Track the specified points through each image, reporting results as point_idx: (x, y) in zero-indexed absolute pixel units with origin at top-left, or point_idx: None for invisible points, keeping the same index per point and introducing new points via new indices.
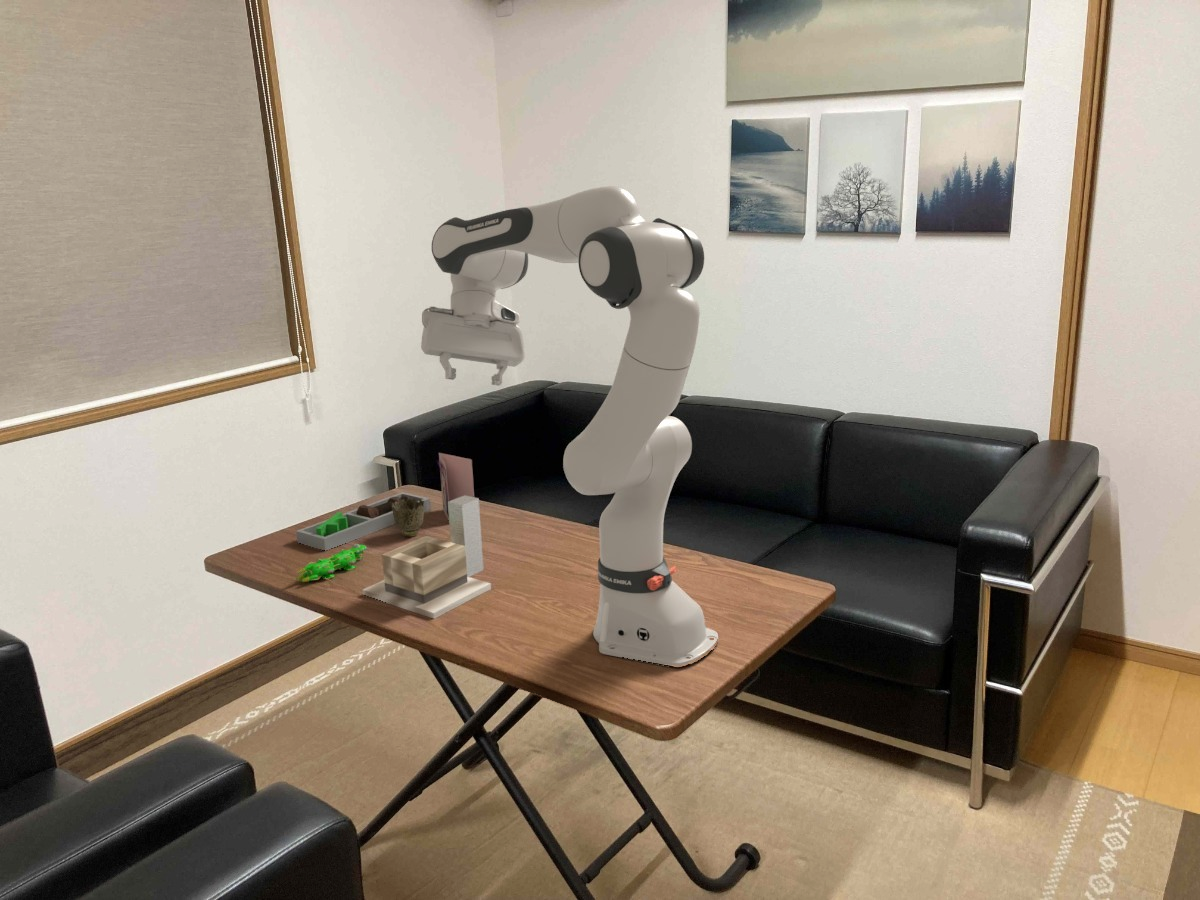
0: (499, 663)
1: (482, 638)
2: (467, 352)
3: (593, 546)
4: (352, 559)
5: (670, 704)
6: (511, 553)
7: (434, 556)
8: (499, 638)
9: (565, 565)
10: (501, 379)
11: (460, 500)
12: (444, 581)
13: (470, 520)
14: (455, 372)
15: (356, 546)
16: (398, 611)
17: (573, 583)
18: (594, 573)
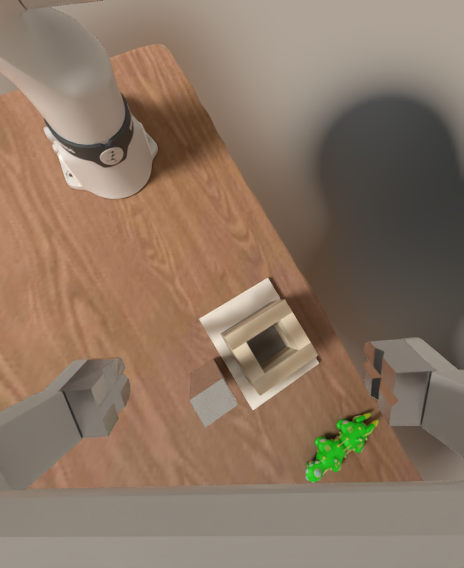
0: (237, 176)
1: (237, 222)
2: (380, 493)
3: (39, 387)
4: (322, 443)
5: (145, 62)
6: (144, 409)
7: (265, 320)
8: (224, 215)
9: (100, 343)
10: (68, 370)
11: (218, 402)
12: (250, 316)
13: (207, 379)
14: (384, 355)
15: (319, 470)
16: (292, 309)
17: (114, 292)
18: (80, 306)
